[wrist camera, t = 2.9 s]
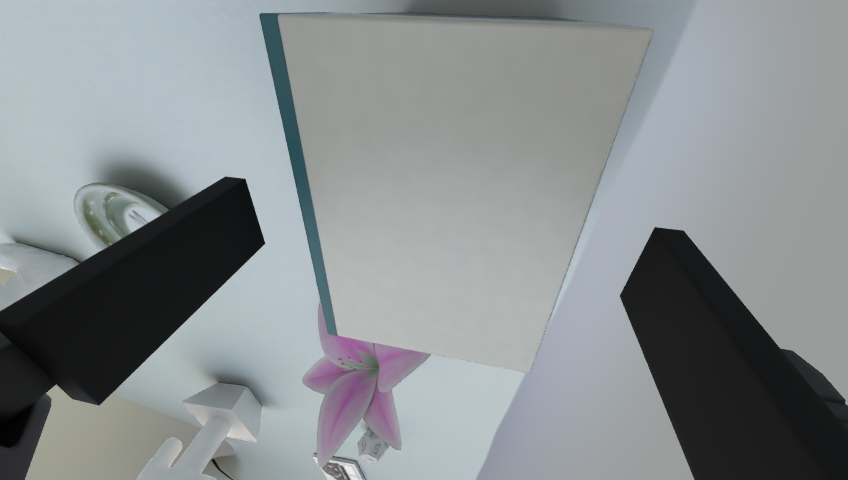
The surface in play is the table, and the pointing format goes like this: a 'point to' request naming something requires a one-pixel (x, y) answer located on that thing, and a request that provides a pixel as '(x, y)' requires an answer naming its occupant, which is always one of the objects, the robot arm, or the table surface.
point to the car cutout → (341, 469)
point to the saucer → (113, 212)
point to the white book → (447, 168)
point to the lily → (357, 388)
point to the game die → (371, 447)
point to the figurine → (207, 432)
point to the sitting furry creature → (29, 270)
